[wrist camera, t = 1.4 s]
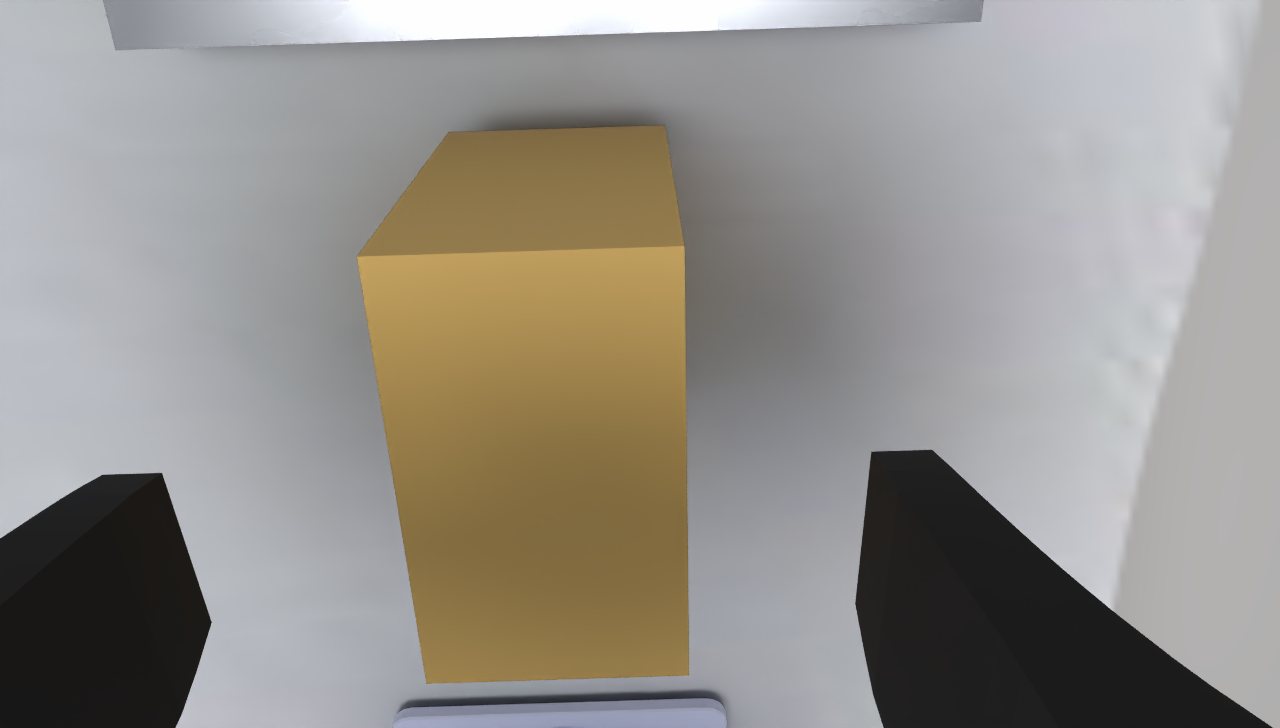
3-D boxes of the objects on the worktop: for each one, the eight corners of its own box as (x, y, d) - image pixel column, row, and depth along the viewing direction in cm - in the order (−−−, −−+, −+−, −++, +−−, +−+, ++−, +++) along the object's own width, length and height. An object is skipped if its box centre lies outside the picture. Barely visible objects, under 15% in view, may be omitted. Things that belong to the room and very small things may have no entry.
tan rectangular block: (667, 396, 20) (689, 675, 13) (497, 402, 20) (426, 683, 13) (661, 101, 18) (684, 245, 11) (466, 107, 18) (356, 256, 11)
